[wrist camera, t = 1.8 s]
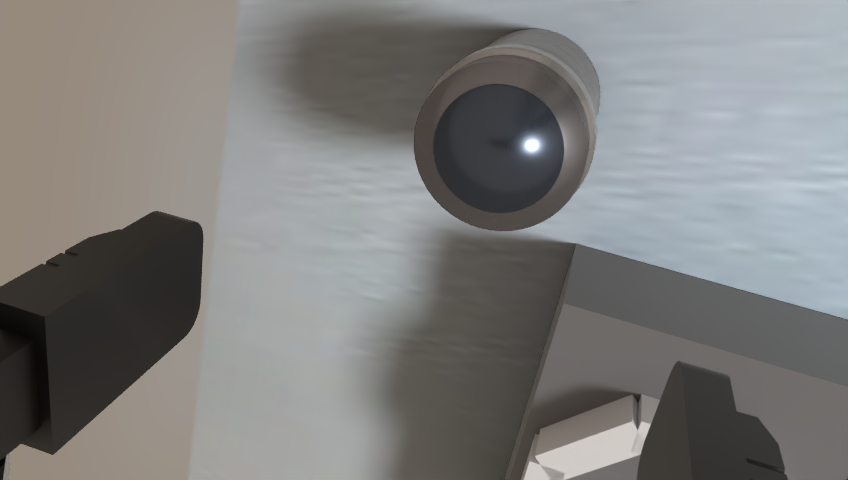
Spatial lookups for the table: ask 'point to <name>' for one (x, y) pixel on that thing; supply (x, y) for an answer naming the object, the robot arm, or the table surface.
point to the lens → (510, 130)
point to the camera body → (656, 356)
